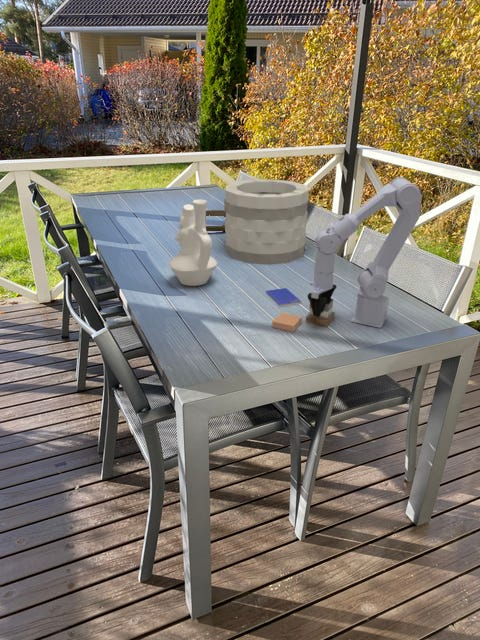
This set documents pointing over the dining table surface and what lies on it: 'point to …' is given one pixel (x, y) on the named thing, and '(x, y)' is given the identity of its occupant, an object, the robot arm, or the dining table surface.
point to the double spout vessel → (193, 246)
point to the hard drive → (283, 297)
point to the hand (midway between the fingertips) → (320, 311)
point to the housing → (324, 309)
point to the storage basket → (266, 221)
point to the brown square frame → (215, 213)
